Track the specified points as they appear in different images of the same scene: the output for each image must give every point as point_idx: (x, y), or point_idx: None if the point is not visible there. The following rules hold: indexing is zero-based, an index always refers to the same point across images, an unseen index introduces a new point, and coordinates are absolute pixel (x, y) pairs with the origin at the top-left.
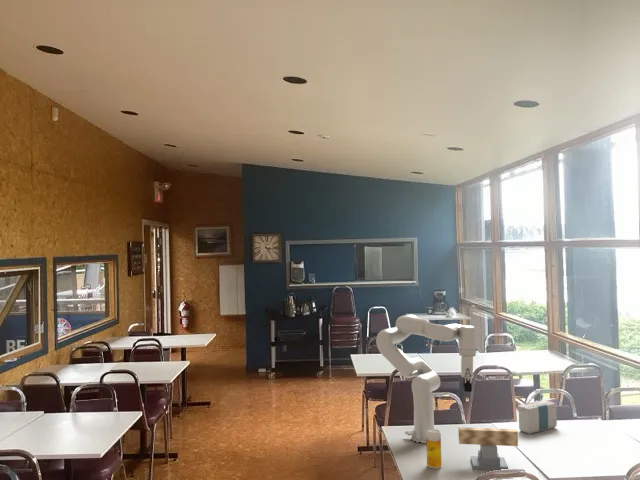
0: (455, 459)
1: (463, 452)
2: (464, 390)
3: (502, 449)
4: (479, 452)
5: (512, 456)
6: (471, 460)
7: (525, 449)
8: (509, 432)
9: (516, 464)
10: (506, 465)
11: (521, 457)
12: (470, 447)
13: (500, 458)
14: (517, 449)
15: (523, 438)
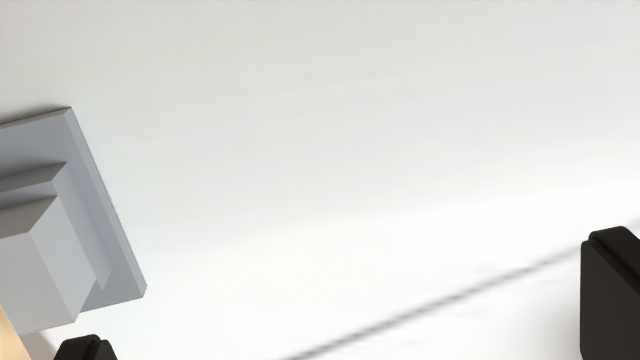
0: (13, 4)
1: (193, 33)
2: (58, 349)
3: (351, 252)
4: (3, 198)
5: (245, 313)
6: (19, 122)
7: (392, 354)
8: None
9: (121, 344)
10: None
11: (248, 352)
12: (323, 63)
13: (111, 283)
14: (379, 320)
15: None
